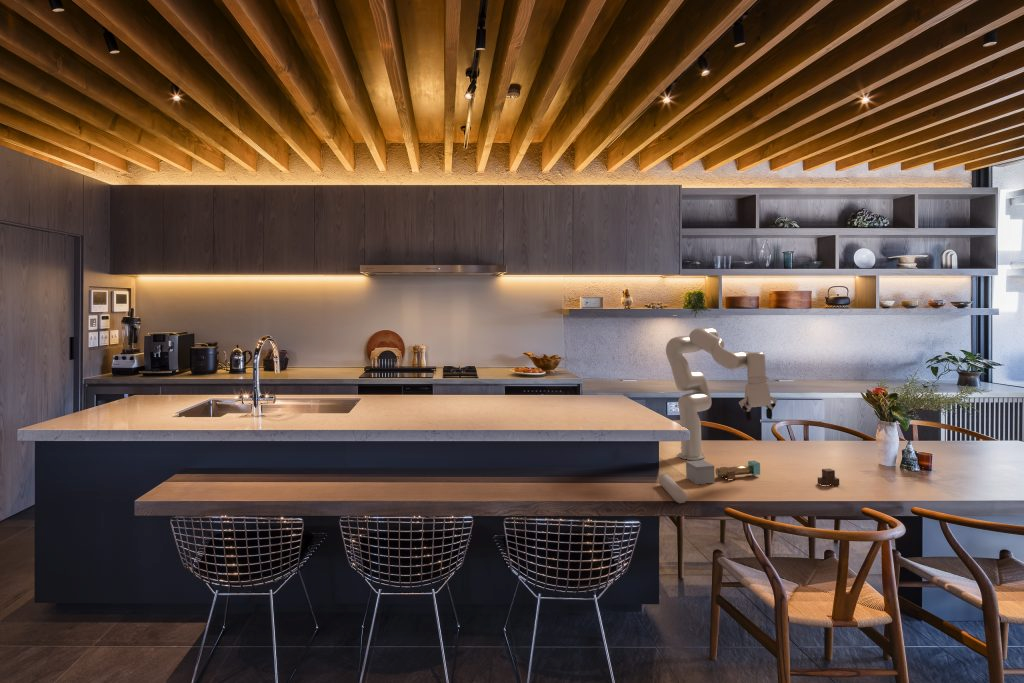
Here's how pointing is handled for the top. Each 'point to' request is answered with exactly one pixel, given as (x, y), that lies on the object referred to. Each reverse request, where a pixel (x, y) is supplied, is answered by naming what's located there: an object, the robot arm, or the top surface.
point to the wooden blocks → (828, 477)
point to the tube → (672, 488)
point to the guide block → (729, 474)
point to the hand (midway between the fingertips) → (758, 419)
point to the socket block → (700, 472)
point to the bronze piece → (740, 469)
